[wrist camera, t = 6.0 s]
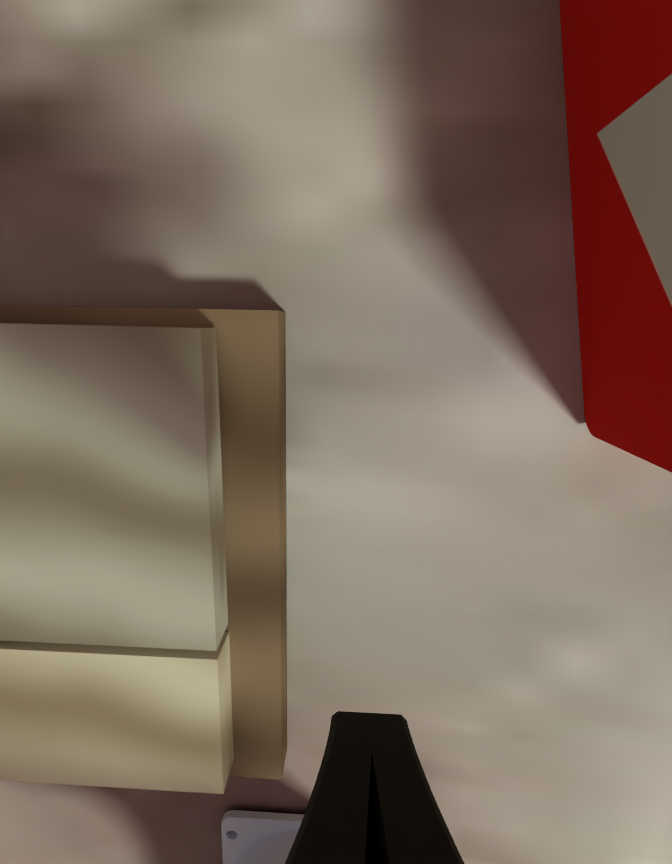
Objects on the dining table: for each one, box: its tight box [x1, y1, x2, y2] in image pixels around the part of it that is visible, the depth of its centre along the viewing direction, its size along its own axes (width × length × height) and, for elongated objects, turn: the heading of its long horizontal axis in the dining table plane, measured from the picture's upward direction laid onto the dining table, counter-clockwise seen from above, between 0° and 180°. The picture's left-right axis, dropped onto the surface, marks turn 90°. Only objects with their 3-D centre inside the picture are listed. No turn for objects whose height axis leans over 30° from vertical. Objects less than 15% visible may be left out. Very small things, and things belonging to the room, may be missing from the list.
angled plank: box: [0, 323, 228, 651], centre depth 15 cm, size 11×14×2 cm
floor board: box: [0, 305, 287, 794], centre depth 17 cm, size 19×18×3 cm
